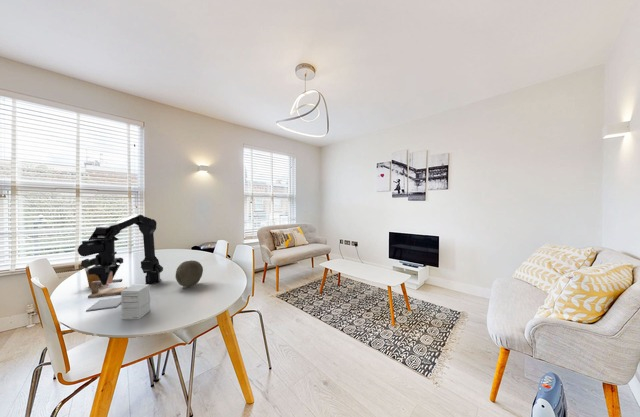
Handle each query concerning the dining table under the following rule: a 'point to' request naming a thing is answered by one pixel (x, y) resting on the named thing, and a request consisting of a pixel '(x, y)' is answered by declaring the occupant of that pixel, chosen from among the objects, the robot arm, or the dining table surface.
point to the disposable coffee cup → (92, 277)
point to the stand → (104, 292)
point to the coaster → (105, 304)
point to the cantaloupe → (189, 273)
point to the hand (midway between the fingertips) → (107, 282)
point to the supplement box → (135, 301)
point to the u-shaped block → (109, 279)
